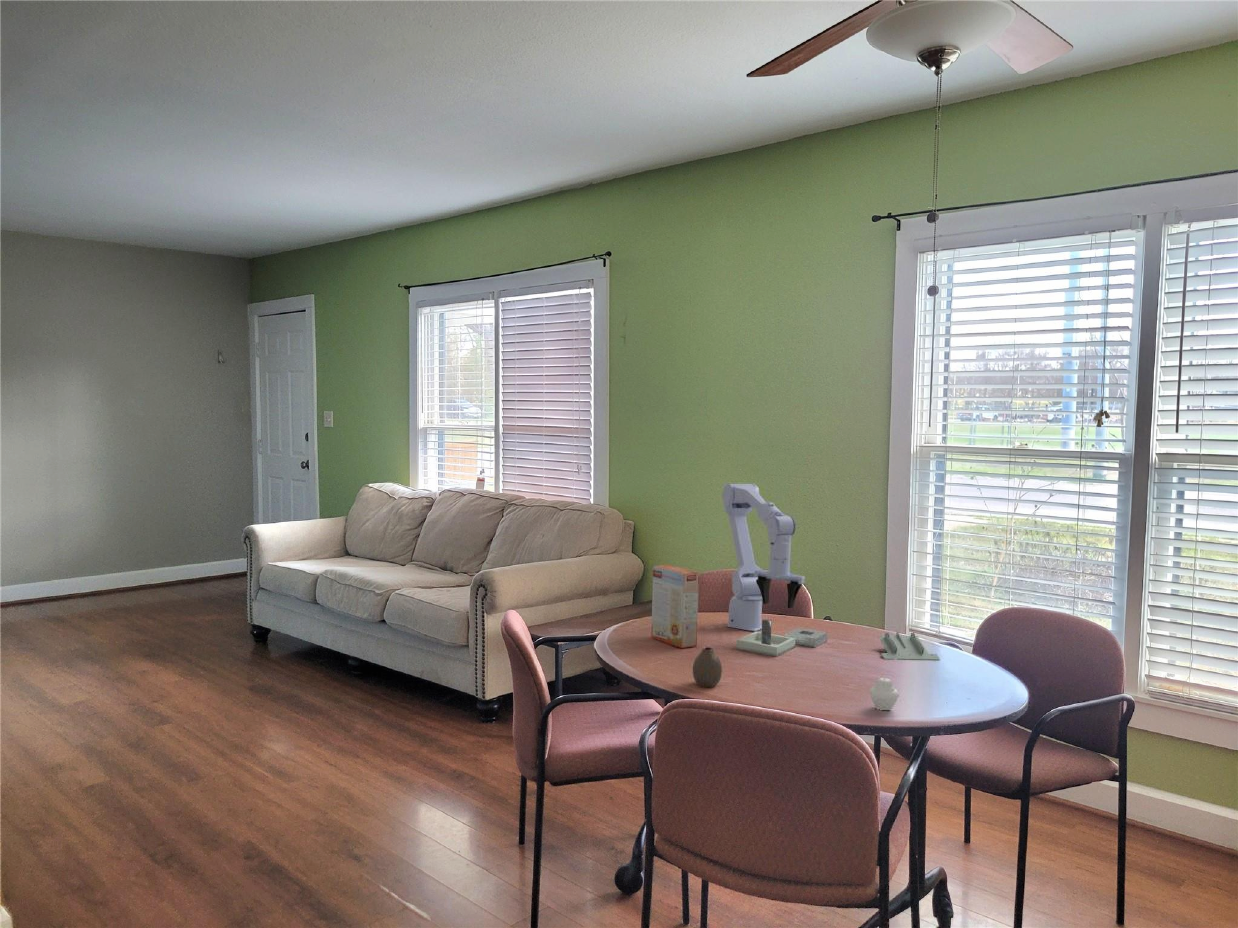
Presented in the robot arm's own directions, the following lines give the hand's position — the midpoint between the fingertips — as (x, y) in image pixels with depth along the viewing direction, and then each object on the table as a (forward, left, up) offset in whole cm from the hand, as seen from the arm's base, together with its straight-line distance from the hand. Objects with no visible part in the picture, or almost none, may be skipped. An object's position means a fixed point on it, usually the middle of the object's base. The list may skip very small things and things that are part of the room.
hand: (778, 605), depth 247 cm
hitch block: (+7, +5, -10) cm, 13 cm away
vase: (+4, -48, -11) cm, 49 cm away
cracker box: (-22, -20, -11) cm, 32 cm away
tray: (+1, -9, -10) cm, 14 cm away
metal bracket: (+33, +11, -11) cm, 36 cm away
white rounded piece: (+43, -38, -11) cm, 58 cm away
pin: (+1, -9, -10) cm, 13 cm away
